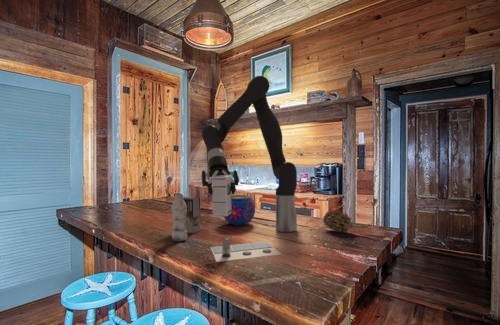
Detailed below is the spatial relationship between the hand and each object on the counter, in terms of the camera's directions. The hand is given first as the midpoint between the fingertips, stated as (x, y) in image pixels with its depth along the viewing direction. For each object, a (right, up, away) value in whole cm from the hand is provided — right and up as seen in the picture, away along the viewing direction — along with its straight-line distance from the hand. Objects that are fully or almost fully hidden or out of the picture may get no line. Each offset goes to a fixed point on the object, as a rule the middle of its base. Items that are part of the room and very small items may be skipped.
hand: (222, 193), depth 95 cm
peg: (+2, -21, -5) cm, 22 cm away
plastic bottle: (-20, -22, +15) cm, 34 cm away
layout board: (+8, -22, 0) cm, 23 cm away
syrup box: (0, -8, +1) cm, 8 cm away
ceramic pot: (+4, -22, +43) cm, 49 cm away
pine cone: (+55, -22, +26) cm, 64 cm away
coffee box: (-19, -22, +31) cm, 43 cm away
